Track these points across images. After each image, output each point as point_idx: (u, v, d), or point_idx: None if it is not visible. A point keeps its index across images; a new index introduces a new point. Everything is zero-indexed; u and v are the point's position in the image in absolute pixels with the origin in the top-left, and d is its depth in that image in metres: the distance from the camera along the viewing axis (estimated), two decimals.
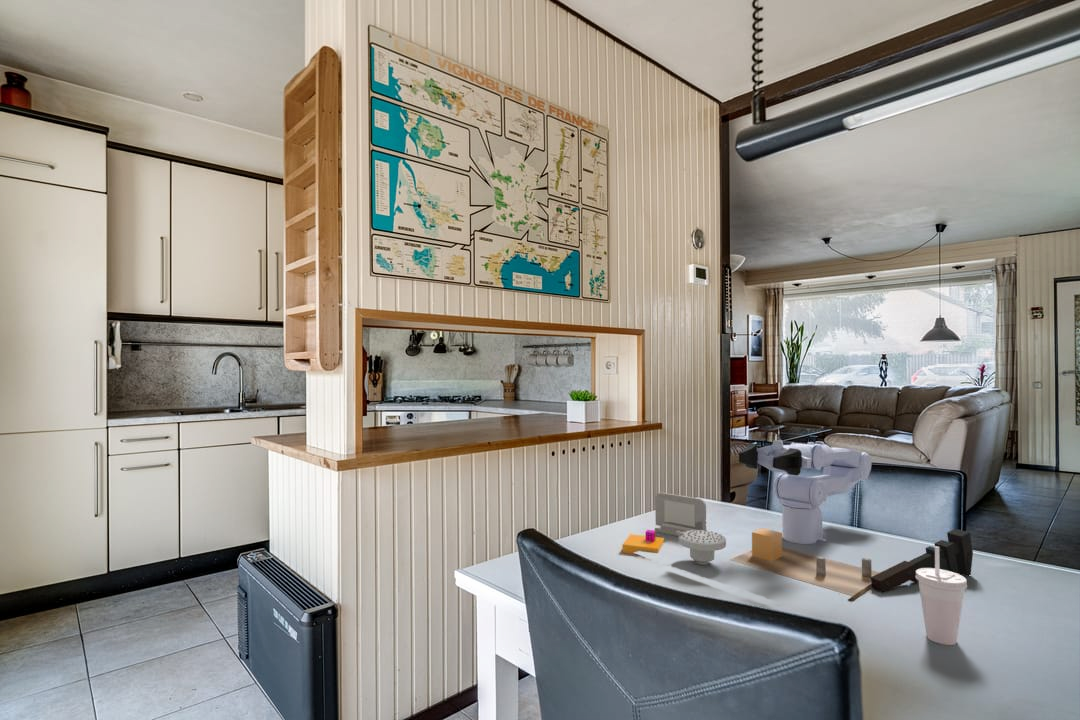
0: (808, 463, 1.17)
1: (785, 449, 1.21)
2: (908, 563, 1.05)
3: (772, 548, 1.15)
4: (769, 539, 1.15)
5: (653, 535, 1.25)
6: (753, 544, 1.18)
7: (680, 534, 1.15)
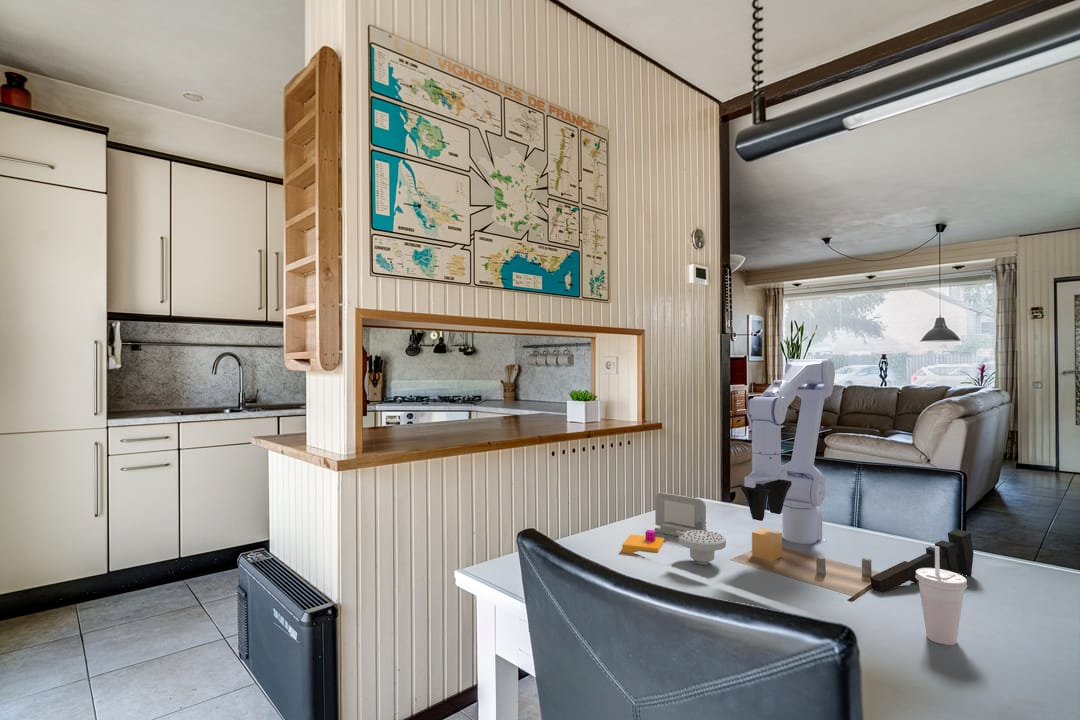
0: None
1: None
2: (908, 563, 1.05)
3: (772, 548, 1.15)
4: (769, 539, 1.15)
5: (653, 535, 1.25)
6: (753, 544, 1.18)
7: (680, 534, 1.15)
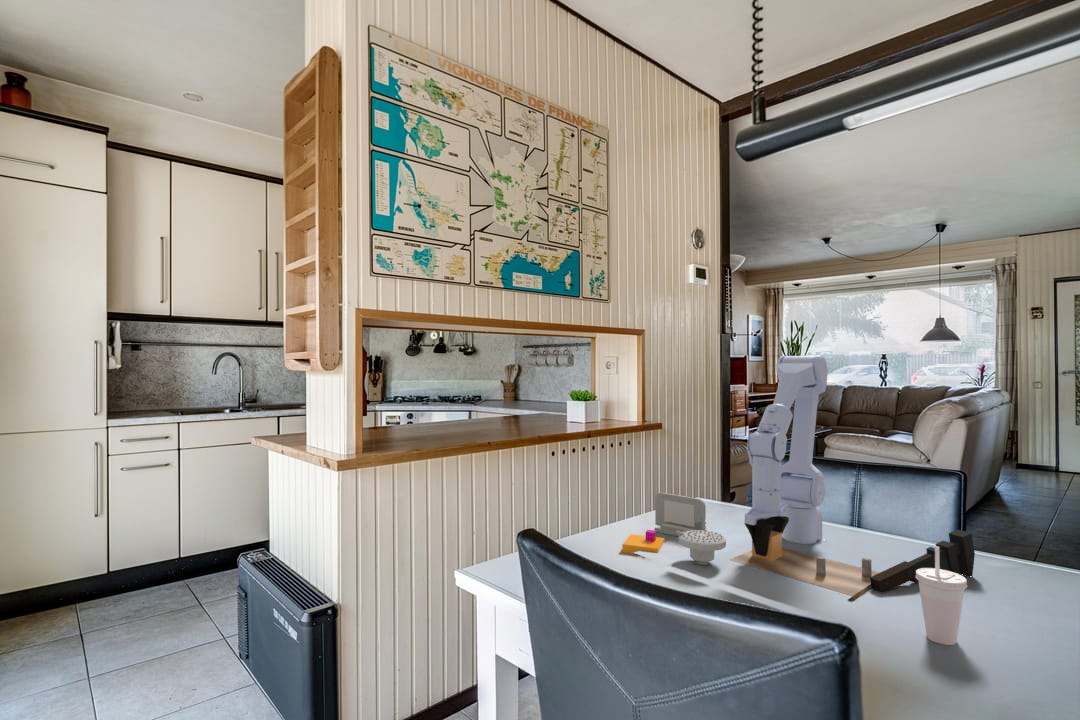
0: None
1: None
2: (908, 563, 1.05)
3: (772, 548, 1.15)
4: (769, 539, 1.15)
5: (653, 535, 1.25)
6: None
7: (680, 534, 1.15)
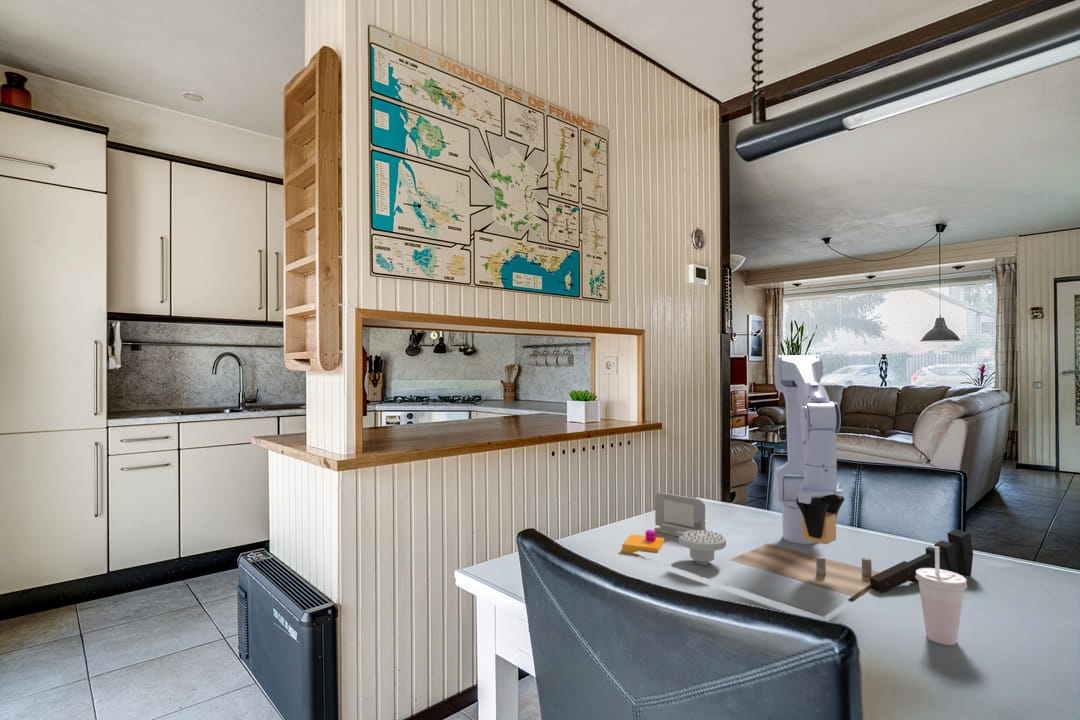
0: None
1: None
2: (907, 563, 1.05)
3: (826, 530, 1.05)
4: None
5: (653, 535, 1.25)
6: (804, 526, 1.08)
7: (680, 534, 1.15)
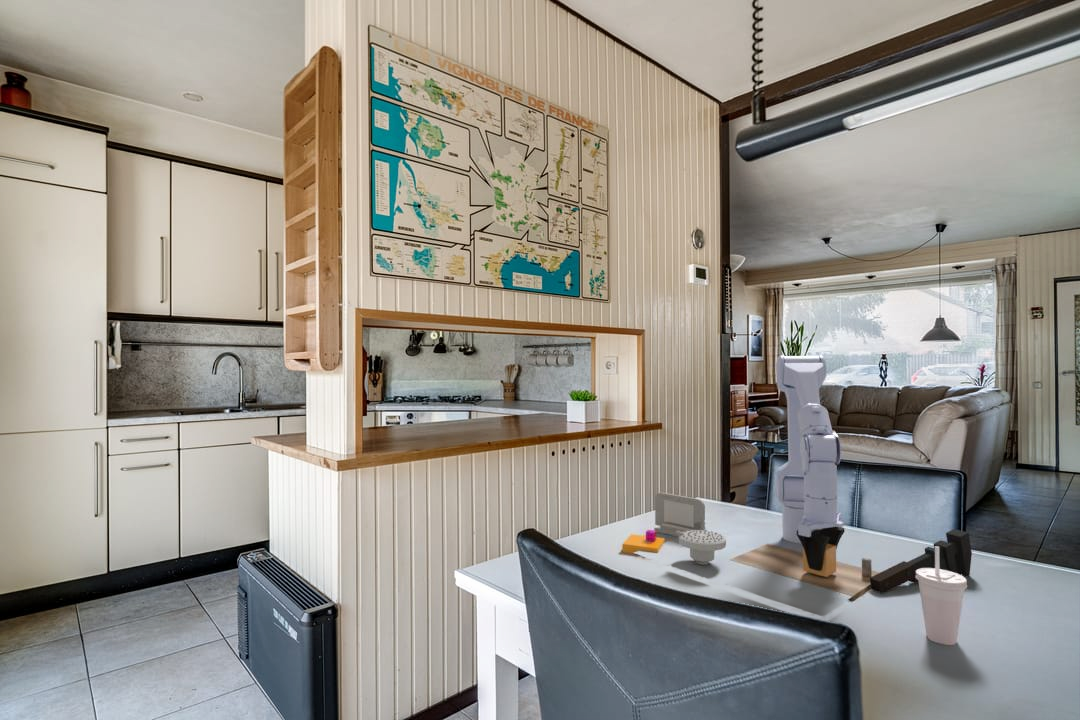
0: None
1: None
2: (907, 563, 1.05)
3: (826, 563, 1.05)
4: None
5: (653, 535, 1.25)
6: (804, 558, 1.08)
7: (680, 534, 1.15)
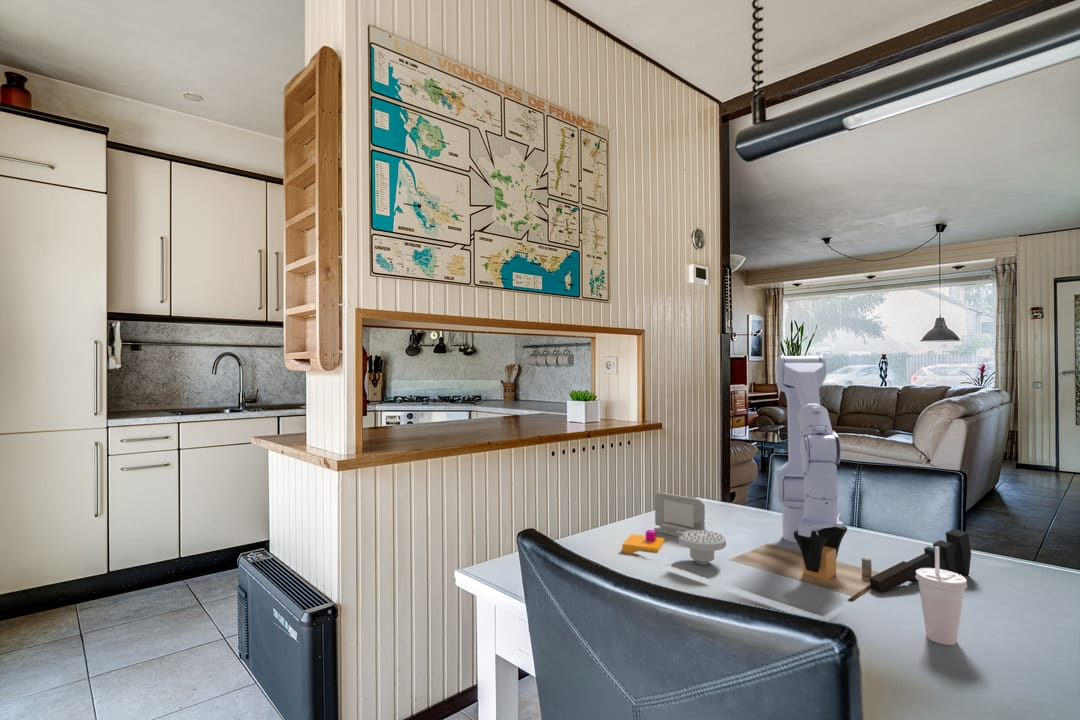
0: None
1: None
2: (907, 563, 1.05)
3: (827, 566, 1.05)
4: (823, 556, 1.05)
5: (653, 535, 1.25)
6: None
7: (680, 534, 1.15)
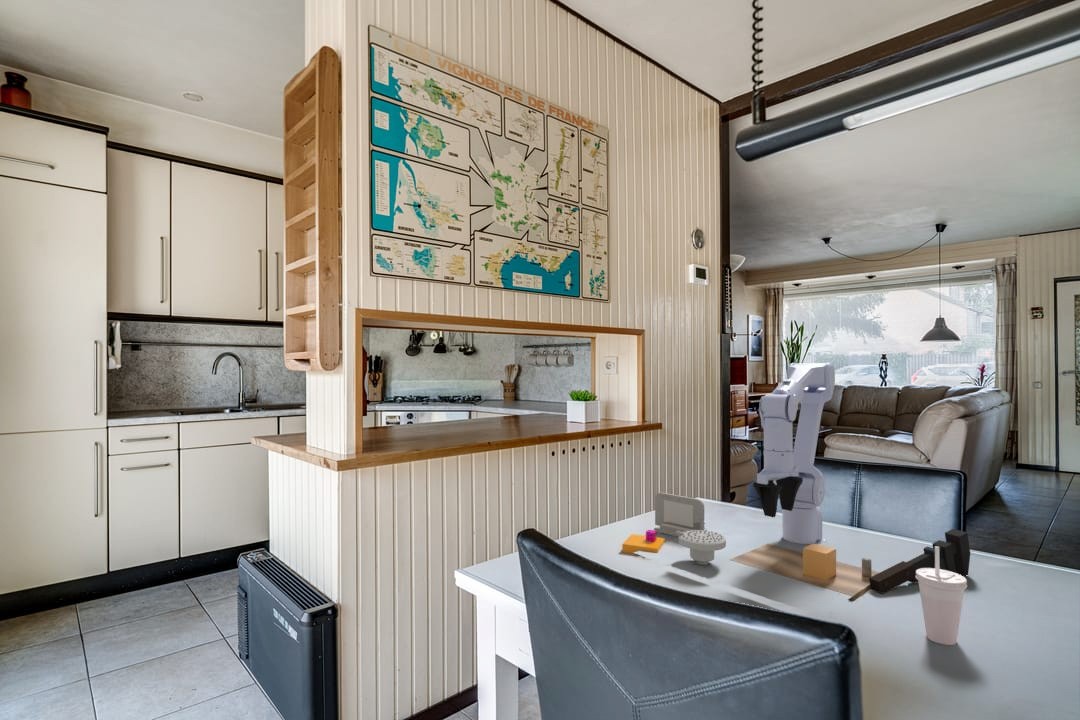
0: None
1: None
2: (906, 563, 1.05)
3: (827, 566, 1.05)
4: (823, 556, 1.05)
5: (653, 535, 1.25)
6: (804, 561, 1.08)
7: (680, 534, 1.15)
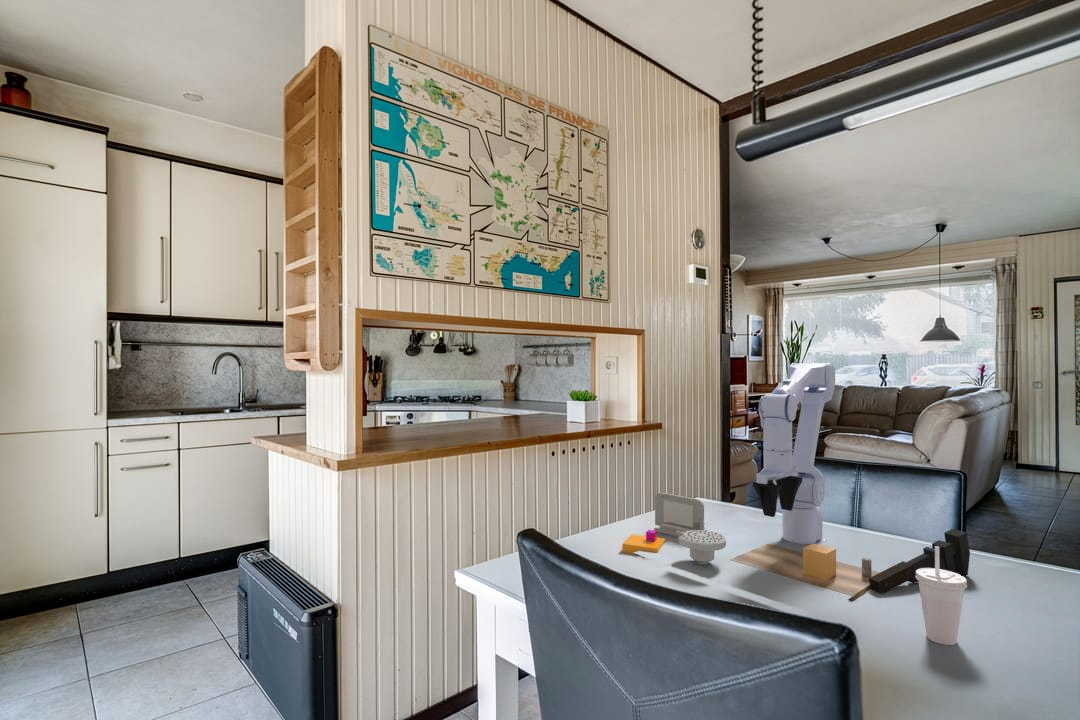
0: None
1: None
2: (906, 563, 1.05)
3: (827, 566, 1.05)
4: (823, 556, 1.05)
5: (653, 535, 1.25)
6: (804, 561, 1.08)
7: (680, 534, 1.15)
